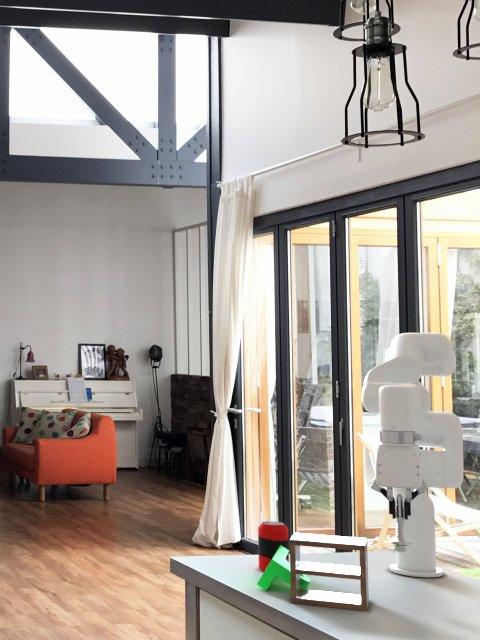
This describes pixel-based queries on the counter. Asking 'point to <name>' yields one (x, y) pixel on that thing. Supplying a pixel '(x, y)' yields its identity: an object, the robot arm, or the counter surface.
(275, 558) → the bracket
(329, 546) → the shelf
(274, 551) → the soda can
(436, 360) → the robot arm
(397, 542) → the screw
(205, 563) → the counter surface
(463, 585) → the counter surface
